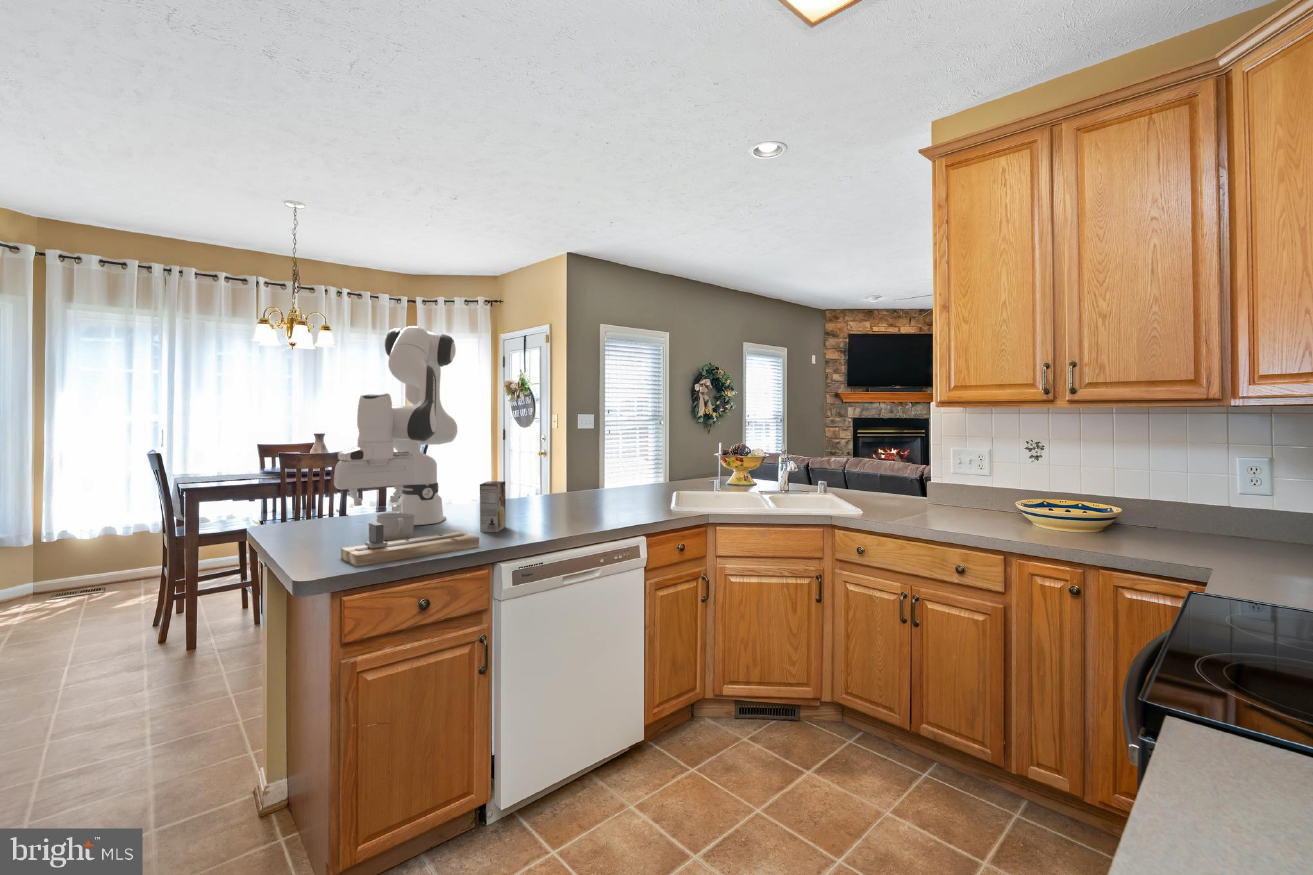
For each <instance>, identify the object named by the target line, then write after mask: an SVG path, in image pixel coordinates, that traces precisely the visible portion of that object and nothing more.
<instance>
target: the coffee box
mask: <svg viewBox="0 0 1313 875" xmlns="http://www.w3.org/2000/svg"><path fill="white" fill-rule="evenodd" d="M506 509H507V508H506V481H503V480H501V481H493V480H491V481H486V482H483V483H480V484H479V531H480V532H483V533H490V532H491V533H498V532H500V531H502V530H504V528H506V523H507V522H506V518H507V516H506Z"/></svg>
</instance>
